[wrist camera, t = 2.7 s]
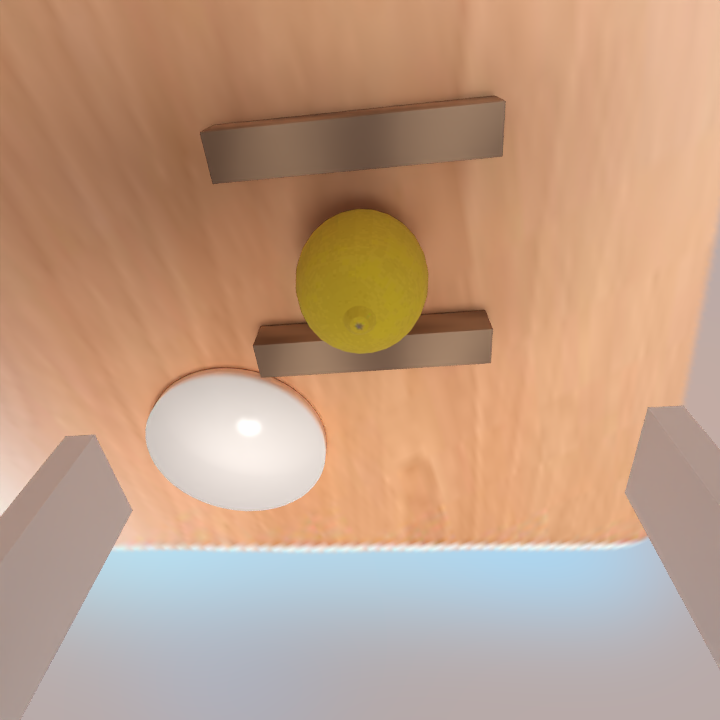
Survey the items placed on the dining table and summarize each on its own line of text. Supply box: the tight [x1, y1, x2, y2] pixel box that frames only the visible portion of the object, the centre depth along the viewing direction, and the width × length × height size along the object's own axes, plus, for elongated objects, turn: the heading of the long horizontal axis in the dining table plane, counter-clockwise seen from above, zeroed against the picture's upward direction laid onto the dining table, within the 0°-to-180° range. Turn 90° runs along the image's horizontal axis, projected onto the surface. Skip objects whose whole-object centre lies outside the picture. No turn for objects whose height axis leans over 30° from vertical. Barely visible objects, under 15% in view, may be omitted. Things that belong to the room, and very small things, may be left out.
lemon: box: [296, 209, 428, 354], centre depth 21 cm, size 6×6×8 cm
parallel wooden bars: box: [200, 96, 506, 378], centre depth 23 cm, size 12×12×2 cm
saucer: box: [146, 368, 327, 511], centre depth 31 cm, size 11×11×1 cm
